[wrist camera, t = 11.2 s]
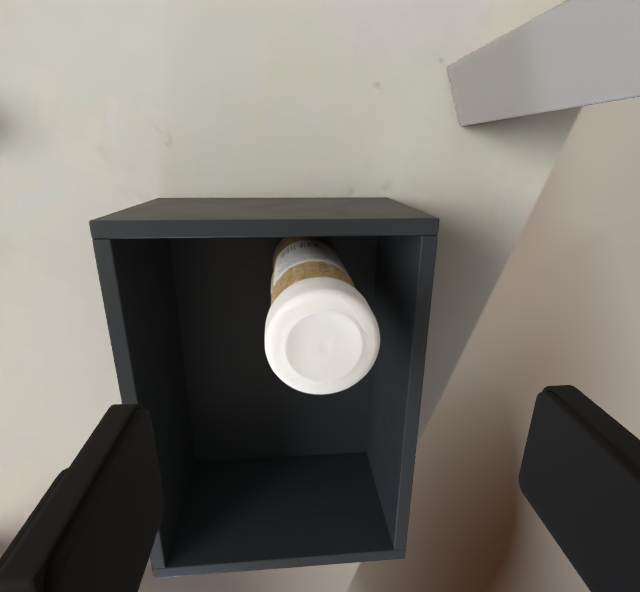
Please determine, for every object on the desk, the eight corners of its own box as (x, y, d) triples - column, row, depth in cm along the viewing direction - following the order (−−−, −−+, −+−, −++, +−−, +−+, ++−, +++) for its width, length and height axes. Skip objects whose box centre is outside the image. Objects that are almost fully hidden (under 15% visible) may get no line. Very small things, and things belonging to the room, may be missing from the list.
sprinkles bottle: (272, 291, 28) (262, 399, 16) (273, 226, 27) (263, 288, 14) (335, 292, 29) (376, 399, 16) (340, 229, 27) (389, 292, 15)
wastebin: (156, 198, 27) (87, 220, 17) (387, 197, 28) (439, 218, 19) (189, 461, 34) (153, 578, 24) (372, 450, 35) (405, 558, 26)
